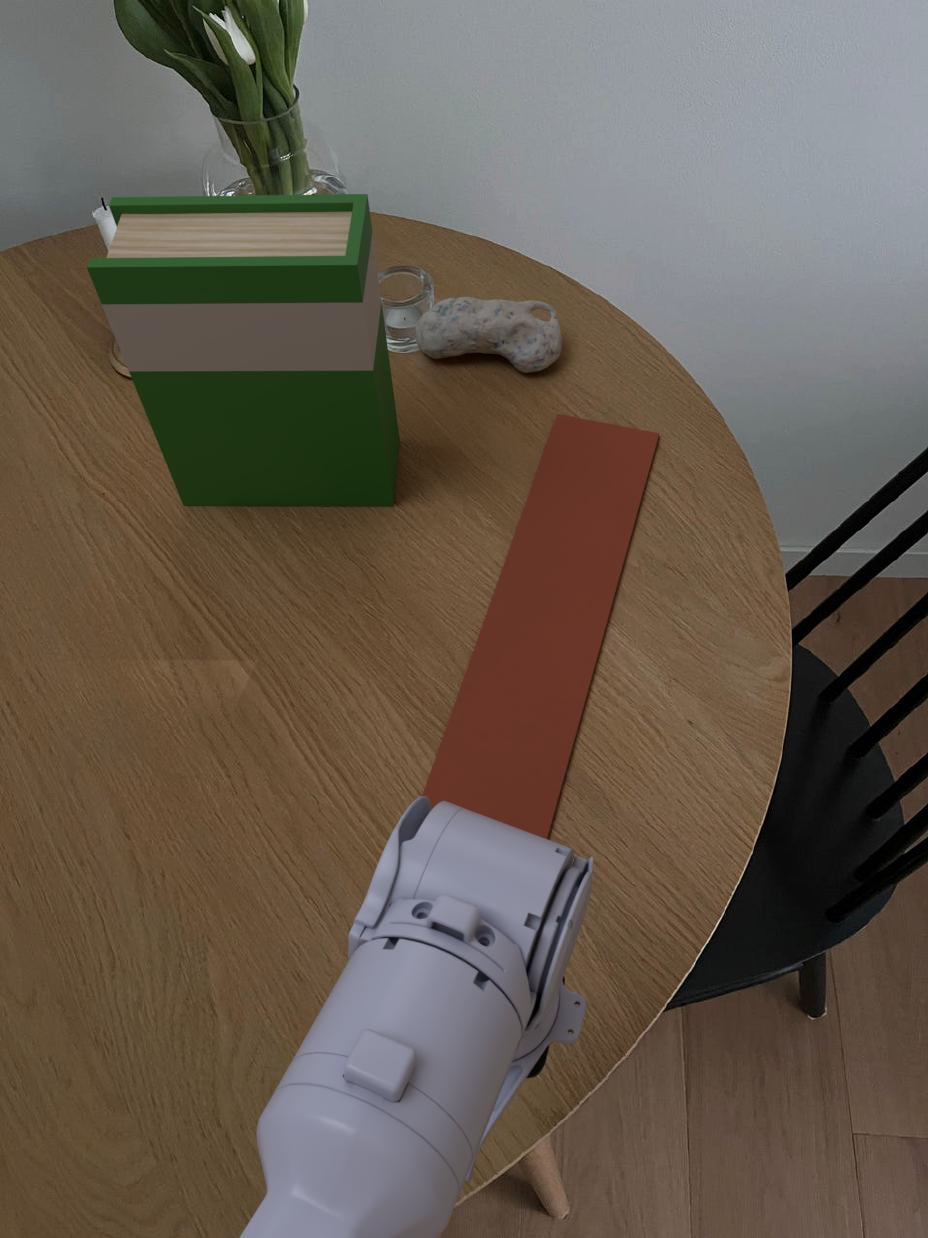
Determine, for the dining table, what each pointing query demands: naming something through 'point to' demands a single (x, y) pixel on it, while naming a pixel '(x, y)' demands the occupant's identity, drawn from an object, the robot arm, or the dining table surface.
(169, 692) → the dining table surface
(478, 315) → the decorative stone
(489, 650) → the terracotta mat
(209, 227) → the hardback book
